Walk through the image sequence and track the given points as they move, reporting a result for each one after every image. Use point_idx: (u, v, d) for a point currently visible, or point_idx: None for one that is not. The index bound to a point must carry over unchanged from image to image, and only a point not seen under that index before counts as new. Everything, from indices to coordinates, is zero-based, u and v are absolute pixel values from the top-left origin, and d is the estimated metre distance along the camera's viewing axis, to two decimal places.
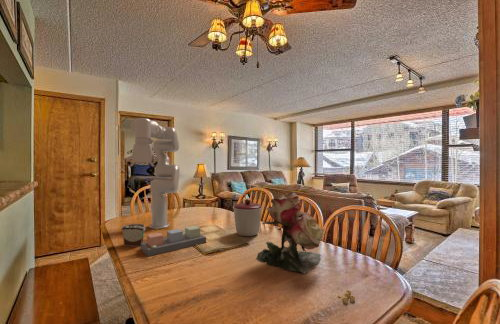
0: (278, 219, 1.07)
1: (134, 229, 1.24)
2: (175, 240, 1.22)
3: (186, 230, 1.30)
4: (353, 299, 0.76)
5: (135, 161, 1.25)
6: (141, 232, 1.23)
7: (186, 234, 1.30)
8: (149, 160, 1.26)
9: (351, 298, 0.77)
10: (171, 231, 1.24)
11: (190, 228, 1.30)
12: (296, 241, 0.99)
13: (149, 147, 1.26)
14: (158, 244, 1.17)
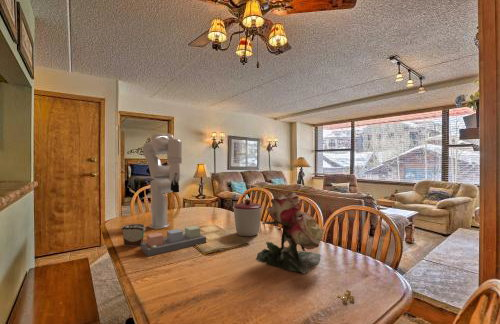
0: (278, 219, 1.07)
1: (134, 229, 1.24)
2: (175, 240, 1.22)
3: (186, 230, 1.30)
4: (353, 299, 0.76)
5: (179, 179, 1.34)
6: (141, 232, 1.23)
7: (186, 234, 1.30)
8: None
9: (351, 298, 0.77)
10: (171, 231, 1.24)
11: (190, 228, 1.30)
12: (296, 241, 0.99)
13: None
14: (158, 244, 1.17)
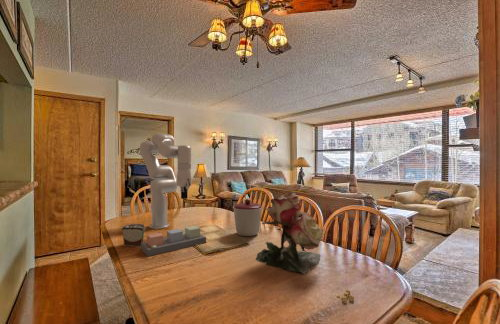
0: (277, 219, 1.07)
1: (134, 229, 1.24)
2: (175, 240, 1.22)
3: (186, 230, 1.30)
4: (352, 299, 0.77)
5: None
6: (141, 232, 1.23)
7: (186, 234, 1.30)
8: None
9: (350, 298, 0.77)
10: (171, 231, 1.24)
11: (190, 228, 1.30)
12: (296, 241, 0.99)
13: None
14: (158, 244, 1.17)
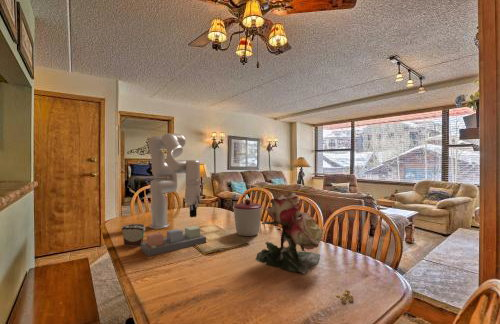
0: (277, 219, 1.07)
1: (134, 229, 1.24)
2: (175, 240, 1.22)
3: (186, 230, 1.30)
4: (352, 299, 0.77)
5: None
6: (141, 232, 1.23)
7: (186, 234, 1.30)
8: None
9: (350, 298, 0.77)
10: (171, 231, 1.24)
11: (190, 228, 1.30)
12: (295, 241, 0.99)
13: None
14: (158, 244, 1.17)
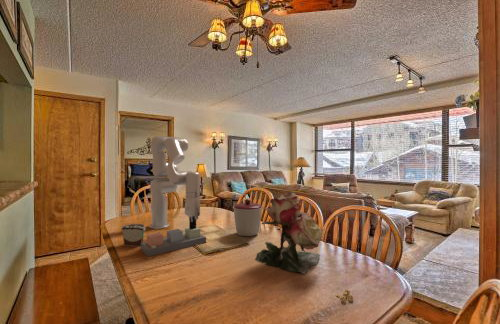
0: (277, 219, 1.07)
1: (134, 229, 1.24)
2: (175, 240, 1.22)
3: (186, 231, 1.30)
4: (351, 299, 0.77)
5: None
6: (141, 232, 1.23)
7: (186, 235, 1.30)
8: None
9: (349, 298, 0.77)
10: (171, 231, 1.24)
11: (190, 229, 1.30)
12: (295, 241, 0.99)
13: None
14: (158, 244, 1.17)
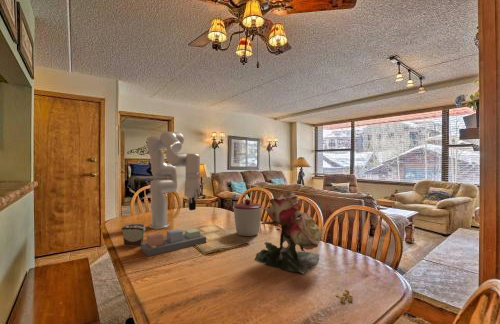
0: (276, 219, 1.07)
1: (134, 229, 1.24)
2: (175, 240, 1.22)
3: (186, 233, 1.30)
4: (351, 298, 0.77)
5: None
6: (141, 232, 1.23)
7: None
8: None
9: (349, 297, 0.77)
10: (171, 231, 1.24)
11: (190, 231, 1.30)
12: (295, 241, 0.99)
13: None
14: (158, 244, 1.17)
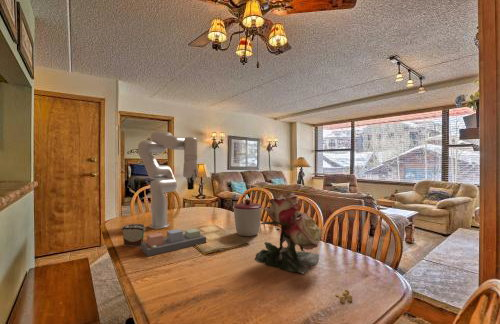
0: (276, 219, 1.07)
1: (134, 229, 1.24)
2: (175, 240, 1.22)
3: (186, 233, 1.30)
4: (350, 298, 0.77)
5: None
6: (141, 232, 1.23)
7: None
8: None
9: (348, 297, 0.77)
10: (171, 231, 1.24)
11: (190, 231, 1.30)
12: (295, 241, 0.99)
13: None
14: (158, 244, 1.17)
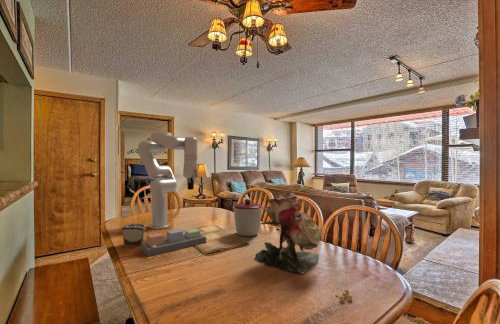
0: (276, 219, 1.07)
1: (134, 229, 1.24)
2: (175, 240, 1.22)
3: (186, 233, 1.30)
4: (350, 298, 0.77)
5: None
6: (141, 232, 1.23)
7: None
8: None
9: (348, 297, 0.77)
10: (171, 231, 1.24)
11: (190, 231, 1.30)
12: (294, 241, 0.99)
13: None
14: (158, 244, 1.17)
